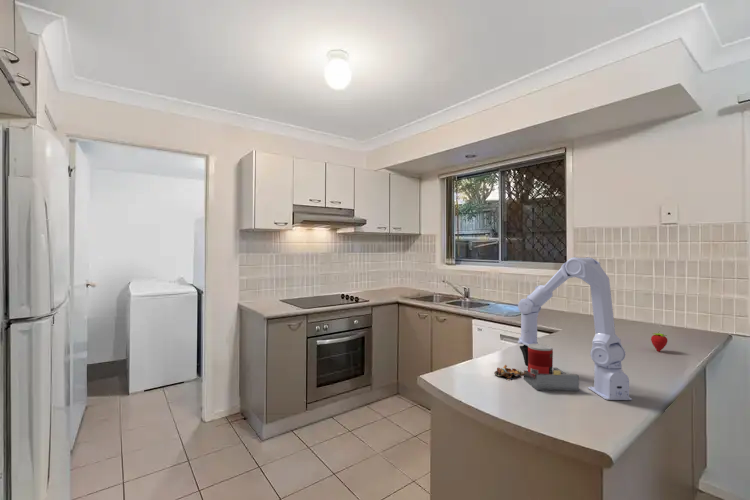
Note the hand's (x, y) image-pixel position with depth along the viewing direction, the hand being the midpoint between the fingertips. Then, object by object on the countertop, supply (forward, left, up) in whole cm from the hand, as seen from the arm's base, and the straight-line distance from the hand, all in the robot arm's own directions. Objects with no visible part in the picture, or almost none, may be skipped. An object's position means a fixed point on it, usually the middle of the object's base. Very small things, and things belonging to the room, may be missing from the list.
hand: (528, 365), depth 136 cm
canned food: (-10, 0, -1) cm, 10 cm away
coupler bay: (-15, 0, -1) cm, 15 cm away
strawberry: (+27, -71, -1) cm, 76 cm away
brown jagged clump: (-8, +10, -2) cm, 13 cm away
